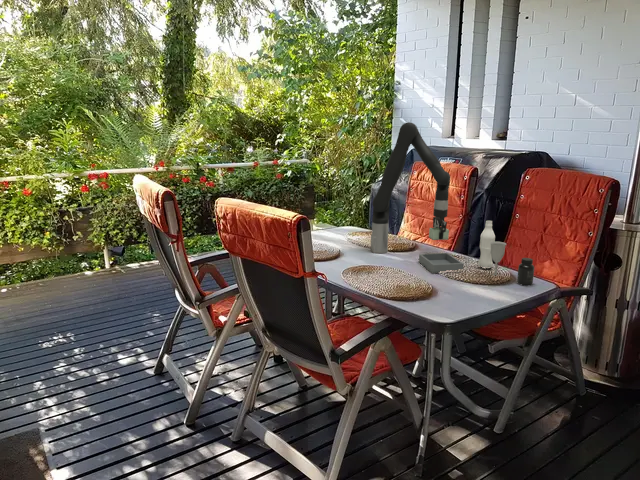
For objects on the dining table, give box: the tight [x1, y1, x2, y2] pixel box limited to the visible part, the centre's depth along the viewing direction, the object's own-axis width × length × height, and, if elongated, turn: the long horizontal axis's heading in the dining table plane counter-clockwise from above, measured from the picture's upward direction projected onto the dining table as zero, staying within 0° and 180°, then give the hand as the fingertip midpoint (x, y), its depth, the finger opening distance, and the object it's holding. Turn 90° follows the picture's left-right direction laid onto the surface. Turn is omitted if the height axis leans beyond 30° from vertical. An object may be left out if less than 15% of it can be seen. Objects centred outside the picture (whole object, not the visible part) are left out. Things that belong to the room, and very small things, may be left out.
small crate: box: [428, 227, 450, 241], centre depth 272 cm, size 9×6×6 cm, turn 99°
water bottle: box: [477, 220, 496, 268], centre depth 249 cm, size 7×7×25 cm
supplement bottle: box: [516, 257, 535, 286], centre depth 228 cm, size 7×7×12 cm
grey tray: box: [418, 252, 464, 275], centre depth 254 cm, size 16×20×4 cm
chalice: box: [490, 241, 507, 276], centre depth 233 cm, size 7×7×18 cm
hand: (438, 237), depth 272 cm, fingers closed on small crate, 6 cm apart
